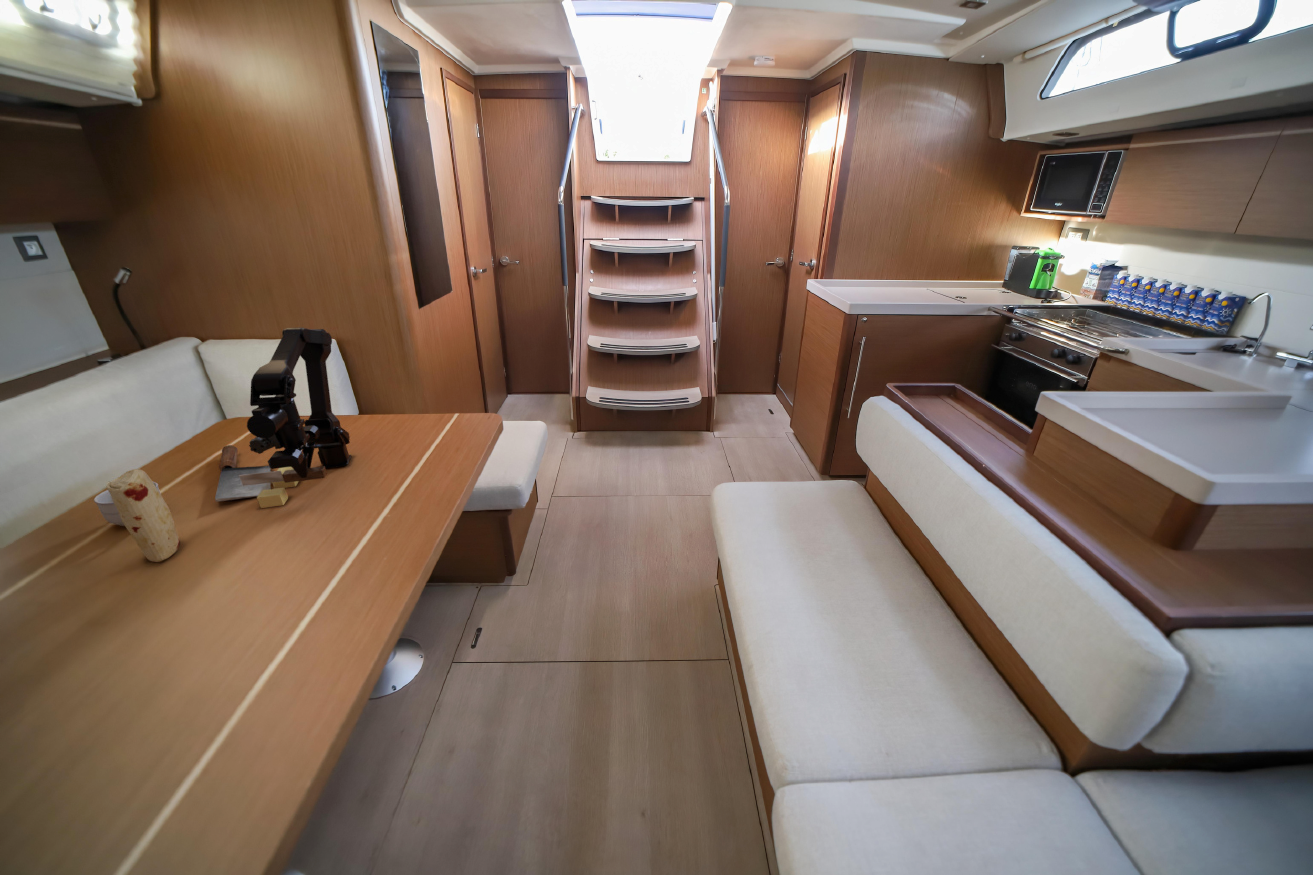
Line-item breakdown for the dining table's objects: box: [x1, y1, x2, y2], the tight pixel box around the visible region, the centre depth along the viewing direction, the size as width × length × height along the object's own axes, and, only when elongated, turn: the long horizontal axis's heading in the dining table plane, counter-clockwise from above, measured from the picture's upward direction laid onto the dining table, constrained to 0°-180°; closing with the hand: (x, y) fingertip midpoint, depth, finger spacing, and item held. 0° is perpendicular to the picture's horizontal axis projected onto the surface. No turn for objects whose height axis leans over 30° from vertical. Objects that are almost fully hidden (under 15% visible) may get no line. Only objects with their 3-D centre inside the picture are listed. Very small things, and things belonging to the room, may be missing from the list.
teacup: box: [93, 481, 162, 527], centre depth 119 cm, size 14×11×8 cm
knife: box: [239, 465, 328, 486], centre depth 128 cm, size 18×2×3 cm, turn 107°
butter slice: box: [256, 488, 289, 509], centre depth 128 cm, size 5×4×3 cm
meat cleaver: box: [214, 444, 272, 502], centre depth 141 cm, size 34×11×4 cm, turn 35°
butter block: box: [271, 467, 300, 489], centre depth 138 cm, size 5×7×3 cm
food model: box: [106, 468, 181, 563], centre depth 106 cm, size 10×7×20 cm
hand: (305, 474), depth 130 cm, fingers closed on knife, 2 cm apart
